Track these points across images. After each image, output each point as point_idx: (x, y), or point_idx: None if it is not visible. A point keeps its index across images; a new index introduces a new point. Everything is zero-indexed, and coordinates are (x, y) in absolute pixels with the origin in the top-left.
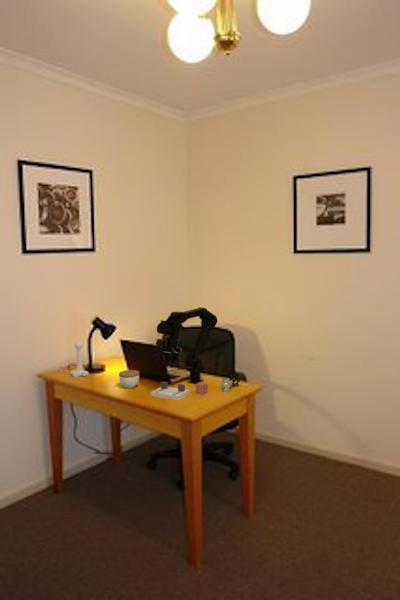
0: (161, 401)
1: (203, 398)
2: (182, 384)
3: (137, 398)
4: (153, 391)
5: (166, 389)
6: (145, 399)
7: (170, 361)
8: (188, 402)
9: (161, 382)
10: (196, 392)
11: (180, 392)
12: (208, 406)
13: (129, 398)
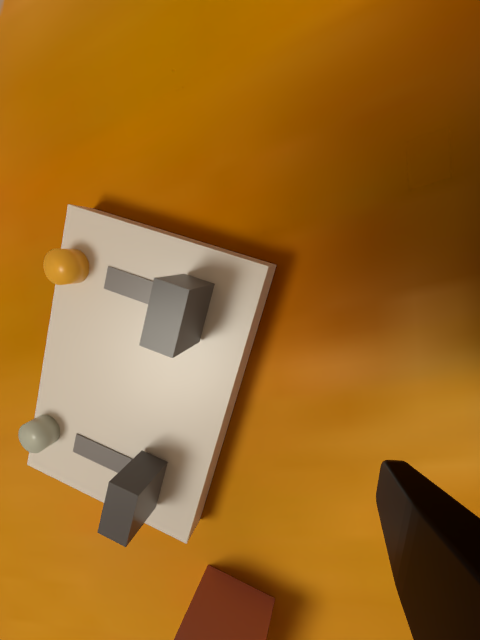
0: (9, 329)
1: (120, 608)
2: (124, 525)
3: (22, 109)
4: (91, 223)
5: None
6: (17, 190)
7: (439, 540)
8: (33, 512)
9: (153, 285)
10: (202, 579)
11: (112, 470)
12: (2, 620)
13: (8, 33)
